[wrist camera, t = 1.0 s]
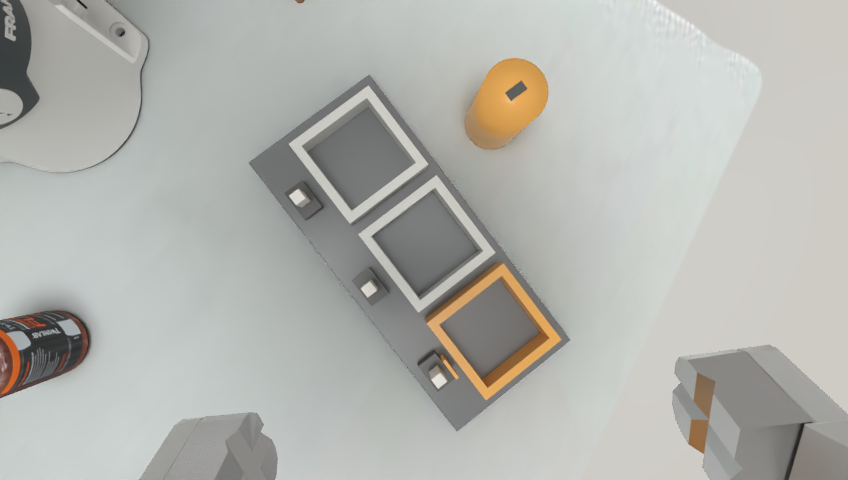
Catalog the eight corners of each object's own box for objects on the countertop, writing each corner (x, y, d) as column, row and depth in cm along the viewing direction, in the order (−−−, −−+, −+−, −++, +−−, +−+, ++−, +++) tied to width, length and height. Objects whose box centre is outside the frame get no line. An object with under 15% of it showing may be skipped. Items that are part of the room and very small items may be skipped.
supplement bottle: (86, 304, 40) (-36, 327, 29) (97, 367, 40) (-21, 415, 29) (19, 315, 40) (-132, 343, 28) (29, 379, 40) (-116, 433, 28)
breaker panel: (252, 165, 41) (234, 154, 36) (369, 79, 42) (366, 58, 37) (455, 426, 42) (462, 449, 37) (565, 337, 43) (586, 348, 38)
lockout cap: (454, 118, 43) (470, 83, 33) (495, 87, 43) (522, 44, 34) (485, 160, 43) (510, 136, 34) (526, 129, 43) (562, 97, 34)
